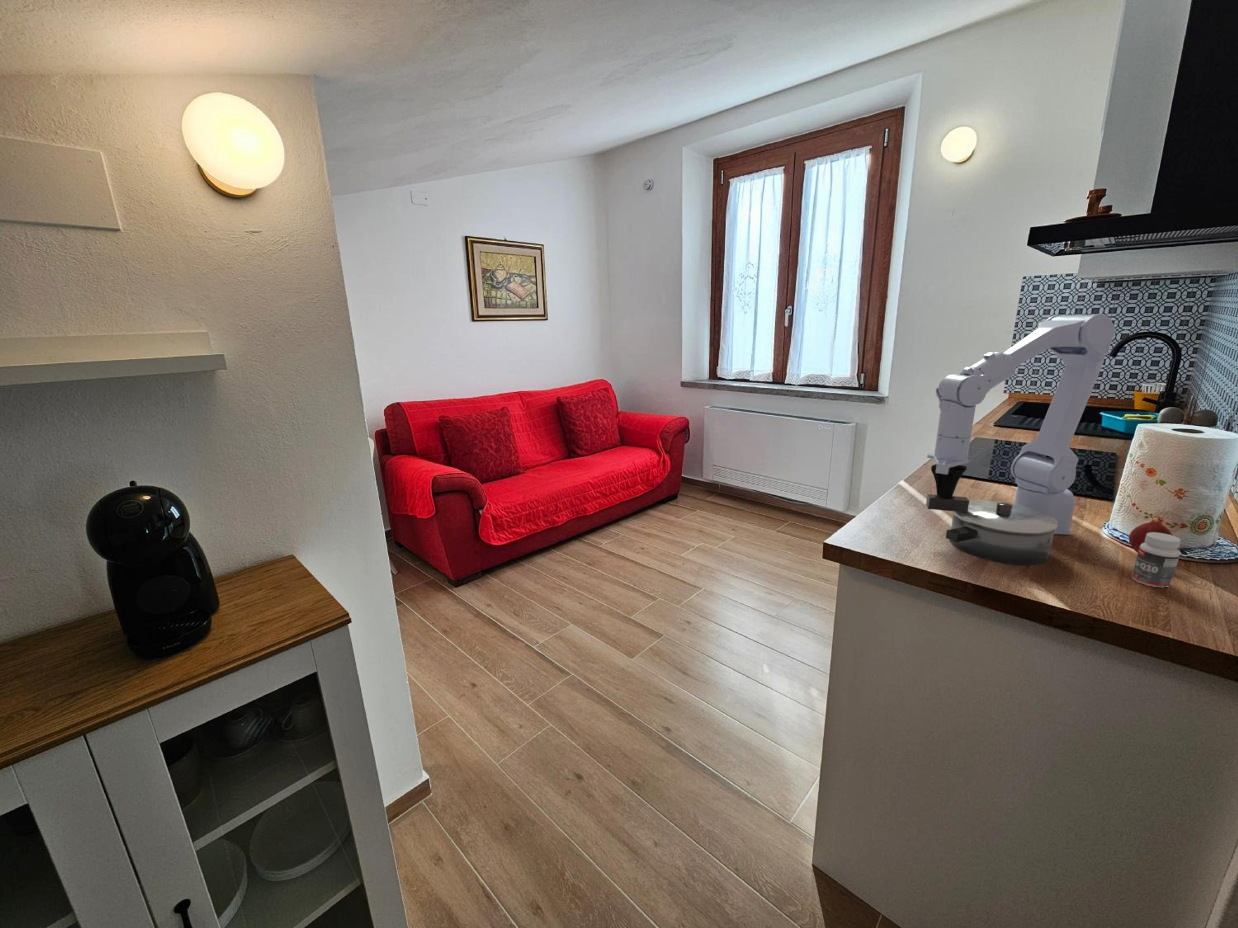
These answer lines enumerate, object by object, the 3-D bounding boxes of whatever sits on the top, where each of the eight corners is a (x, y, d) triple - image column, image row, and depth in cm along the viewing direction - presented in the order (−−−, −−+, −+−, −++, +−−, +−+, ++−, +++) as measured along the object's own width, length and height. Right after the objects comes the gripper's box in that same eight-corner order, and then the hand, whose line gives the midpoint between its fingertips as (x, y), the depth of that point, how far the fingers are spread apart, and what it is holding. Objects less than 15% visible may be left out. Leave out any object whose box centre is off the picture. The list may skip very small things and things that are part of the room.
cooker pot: (986, 526, 113) (991, 500, 111) (1069, 556, 98) (1075, 526, 97) (912, 541, 106) (916, 514, 105) (989, 575, 92) (995, 544, 90)
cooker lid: (1038, 508, 106) (1041, 493, 105) (1073, 539, 91) (1077, 522, 90) (919, 498, 114) (921, 484, 113) (934, 525, 99) (936, 509, 98)
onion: (1177, 566, 94) (1189, 525, 91) (1139, 564, 95) (1150, 523, 93) (1152, 553, 99) (1163, 513, 97) (1117, 551, 100) (1126, 512, 98)
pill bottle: (1123, 576, 91) (1134, 531, 88) (1148, 574, 91) (1160, 530, 89) (1152, 589, 86) (1165, 543, 84) (1178, 588, 86) (1192, 541, 84)
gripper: (939, 427, 112) (930, 487, 115) (922, 439, 101) (913, 505, 105) (978, 431, 107) (968, 493, 111) (964, 444, 97) (954, 512, 100)
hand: (944, 499), depth 108 cm, fingers closed
